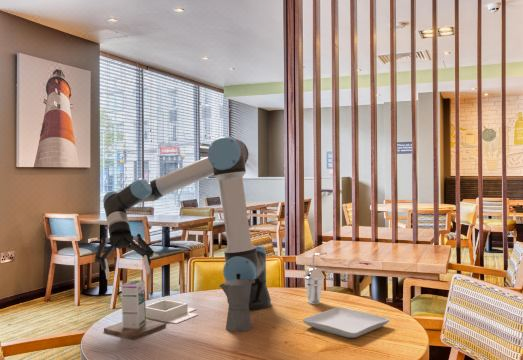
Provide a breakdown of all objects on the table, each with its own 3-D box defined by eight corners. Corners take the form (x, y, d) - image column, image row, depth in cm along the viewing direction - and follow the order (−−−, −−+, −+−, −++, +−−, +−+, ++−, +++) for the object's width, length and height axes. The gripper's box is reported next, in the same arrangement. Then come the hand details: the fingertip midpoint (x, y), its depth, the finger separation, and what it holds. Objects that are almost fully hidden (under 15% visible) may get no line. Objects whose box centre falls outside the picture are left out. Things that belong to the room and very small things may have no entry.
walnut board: (165, 327, 158) (165, 323, 158) (134, 339, 146) (134, 335, 146) (136, 320, 165) (136, 317, 165) (103, 332, 154) (103, 328, 154)
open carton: (206, 311, 175) (206, 302, 175) (176, 323, 161) (176, 313, 161) (173, 305, 184) (173, 296, 184) (141, 316, 170) (141, 306, 170)
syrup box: (139, 329, 152) (138, 284, 152) (121, 328, 153) (121, 283, 153) (146, 323, 158) (145, 280, 158) (129, 322, 159) (129, 279, 159)
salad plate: (338, 315, 171) (338, 305, 171) (391, 328, 156) (391, 317, 156) (300, 328, 156) (300, 318, 156) (354, 344, 141) (354, 333, 141)
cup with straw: (312, 298, 192) (311, 249, 192) (330, 302, 186) (330, 251, 186) (298, 302, 186) (298, 252, 186) (317, 307, 180) (316, 254, 180)
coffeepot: (225, 334, 150) (224, 278, 150) (215, 326, 158) (214, 272, 158) (268, 327, 156) (268, 273, 156) (257, 319, 165) (256, 268, 165)
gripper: (150, 230, 183) (162, 276, 170) (82, 235, 171) (89, 285, 158) (154, 218, 178) (166, 264, 165) (84, 222, 166) (91, 272, 153)
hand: (128, 274), depth 161 cm, fingers open, 13 cm apart
